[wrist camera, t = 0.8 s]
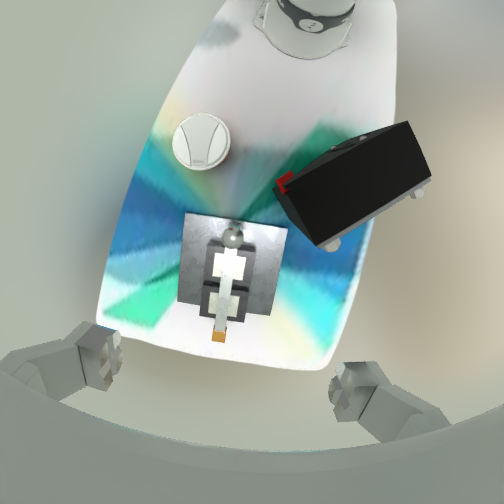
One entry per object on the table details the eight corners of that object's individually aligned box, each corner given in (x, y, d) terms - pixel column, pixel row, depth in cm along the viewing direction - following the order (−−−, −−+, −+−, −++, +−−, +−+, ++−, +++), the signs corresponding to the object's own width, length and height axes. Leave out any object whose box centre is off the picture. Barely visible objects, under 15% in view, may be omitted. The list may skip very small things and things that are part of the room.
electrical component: (295, 229, 49) (324, 262, 30) (266, 180, 47) (279, 181, 27) (373, 183, 47) (437, 191, 28) (348, 135, 44) (404, 115, 25)
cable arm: (224, 223, 42) (223, 226, 40) (245, 227, 42) (245, 229, 40) (210, 333, 47) (208, 340, 45) (228, 336, 47) (227, 343, 45)
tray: (187, 212, 48) (178, 217, 42) (286, 227, 49) (292, 235, 43) (179, 298, 52) (170, 313, 46) (269, 312, 53) (271, 329, 47)
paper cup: (234, 172, 46) (229, 169, 33) (191, 172, 46) (169, 171, 33) (235, 128, 44) (230, 109, 31) (191, 130, 44) (170, 112, 30)
